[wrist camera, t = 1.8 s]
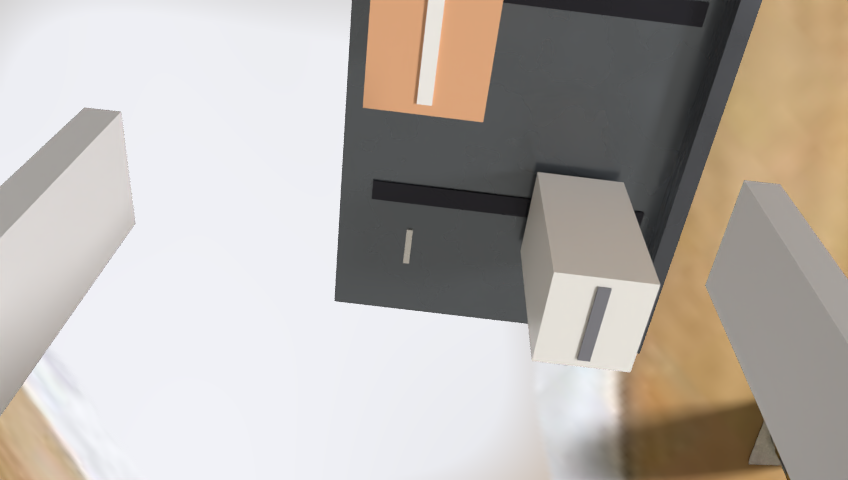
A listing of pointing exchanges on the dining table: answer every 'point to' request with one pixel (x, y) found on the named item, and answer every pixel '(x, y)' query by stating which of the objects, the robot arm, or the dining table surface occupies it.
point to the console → (533, 147)
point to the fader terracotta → (431, 56)
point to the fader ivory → (585, 274)
